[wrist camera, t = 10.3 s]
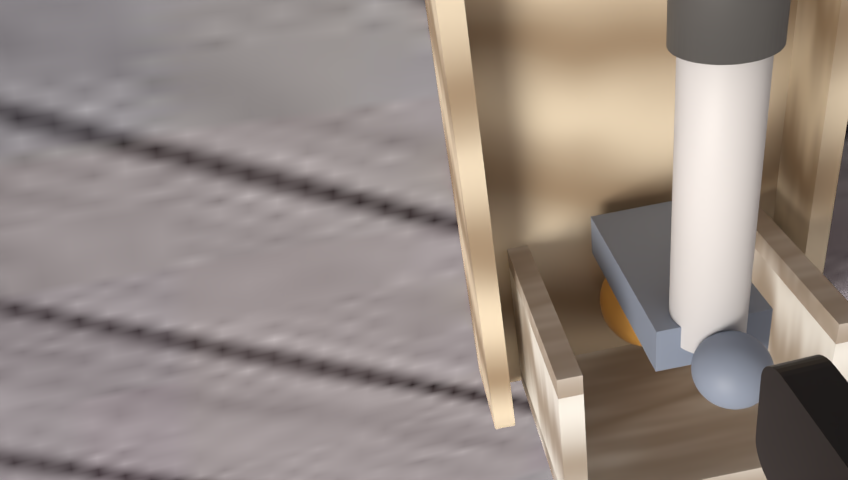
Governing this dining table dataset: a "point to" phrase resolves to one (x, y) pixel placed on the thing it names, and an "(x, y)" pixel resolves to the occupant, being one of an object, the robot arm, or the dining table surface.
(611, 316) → the ball
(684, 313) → the rod
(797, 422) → the robot arm
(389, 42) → the dining table surface
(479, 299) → the game board
